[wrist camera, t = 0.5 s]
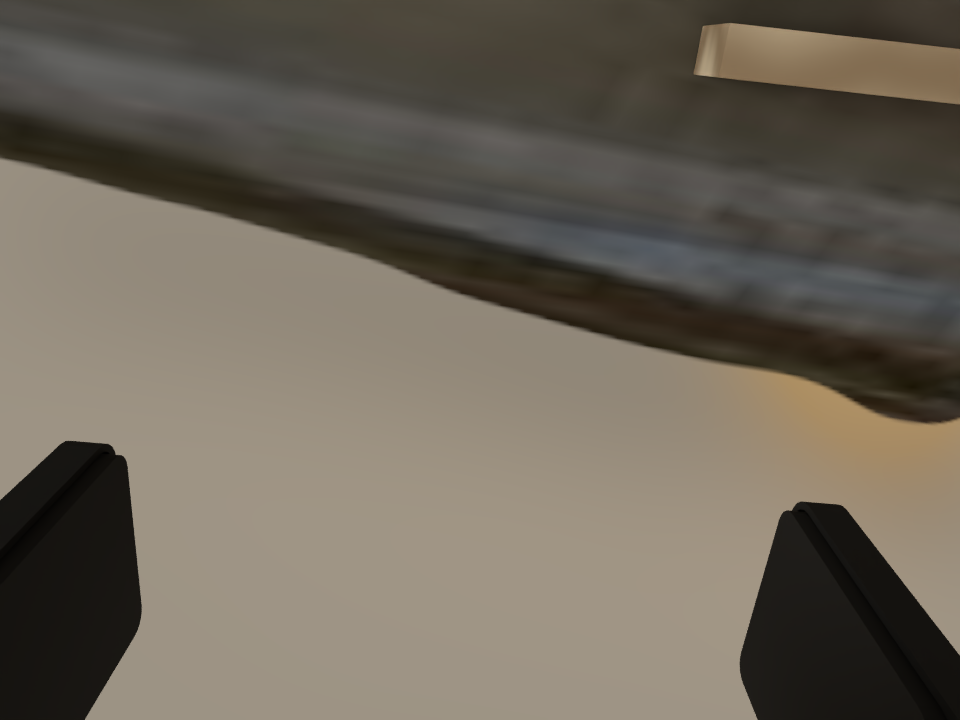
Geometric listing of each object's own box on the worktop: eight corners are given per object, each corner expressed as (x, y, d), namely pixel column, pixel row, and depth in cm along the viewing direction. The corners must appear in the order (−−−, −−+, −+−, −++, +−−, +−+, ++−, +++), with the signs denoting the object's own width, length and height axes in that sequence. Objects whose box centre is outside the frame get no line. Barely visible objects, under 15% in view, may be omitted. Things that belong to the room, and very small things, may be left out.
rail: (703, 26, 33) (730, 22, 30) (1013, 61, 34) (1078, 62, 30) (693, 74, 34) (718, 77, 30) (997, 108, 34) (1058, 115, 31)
